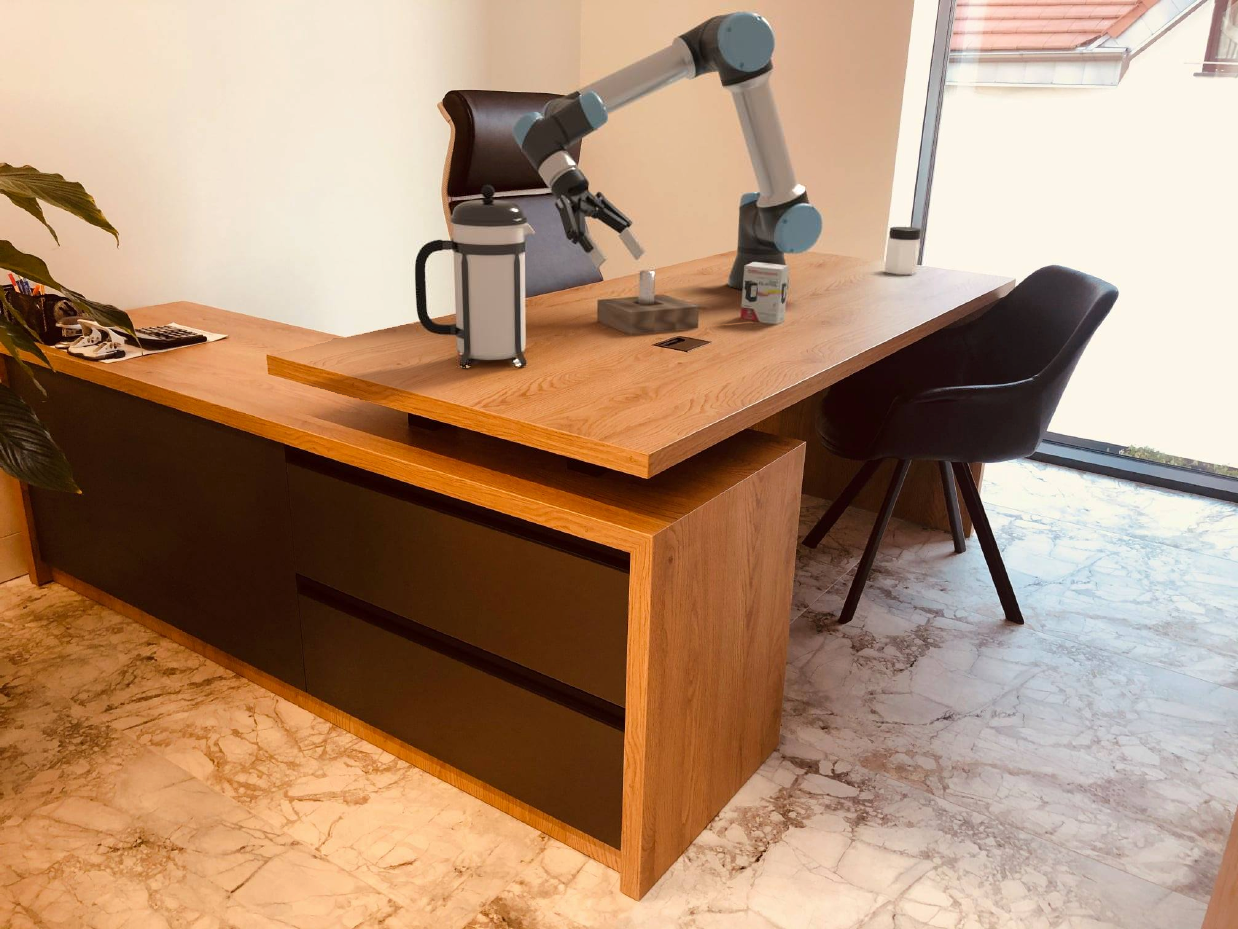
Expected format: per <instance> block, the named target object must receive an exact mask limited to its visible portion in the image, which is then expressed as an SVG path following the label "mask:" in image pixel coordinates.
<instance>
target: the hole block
mask: <svg viewBox="0 0 1238 929" xmlns="http://www.w3.org/2000/svg"><path fill="white" fill-rule="evenodd" d="M638 298H639V295H638V296H628V297H617V298H616V297H615V298H604V299H597V311H596V312H597V313H596V314H597V315H596V317H597V318H596V319H597V320H596V321H597V322H598V323H601V324H603V325H605V326H607V327H610V328H612V329H616V330H618V331H620V332H622V333H625V334H627V335H629V336H631V335H632V336H633V335H643V334H644V335H645V334H654V333H662V332H671V331H672V332H673V331H674V332H675V331H683V330H684V331H685V330H691V329H692V330H693V329H698V328H699V317H700V316H699V315H700V309H699V306H700V305H698V304H695V303H692V302H689V301H686V300H683V301H682V300H681V299H679V298H676V297H672V296H671V295H670V296H669V295H667V294H663V293H662V294H654V305H651V306H642V305H639V304H638ZM685 301H686V302H685ZM688 302H689V303H688ZM691 303H692V304H691ZM694 304H695V305H694ZM697 305H698V306H697Z"/></svg>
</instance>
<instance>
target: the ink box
mask: <svg viewBox="0 0 1238 929" xmlns="http://www.w3.org/2000/svg"><path fill="white" fill-rule="evenodd" d="M789 269H790V267H789V266H788V265H787V264H786V265H778V264H768V263H759V262H752V263H750V264H747V265H745V266H744V278H743V289H742V292H741V293H742V294H741V304H740V305H741V306H740V308H741V310H740V319H743V320H744V319H745V320H750V321H752V322H756V323H763V324H771V325H778V324H781V323H783V322H784V321H785V318H786V305H787V295H788V294H787V293H788V288H787V283H788V277H789V272H790V270H789Z"/></svg>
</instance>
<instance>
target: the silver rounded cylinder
mask: <svg viewBox="0 0 1238 929" xmlns="http://www.w3.org/2000/svg"><path fill="white" fill-rule="evenodd" d="M638 275H639V276H638V296H639V298H638V304H639V305H642V306H651V305H654V295H655V287H656V286H655V283H656V282H655V281H656V279H655V278H656V271H655V270H650V269H648V270H647V269H646V270H645V269H643V270H638Z"/></svg>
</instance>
